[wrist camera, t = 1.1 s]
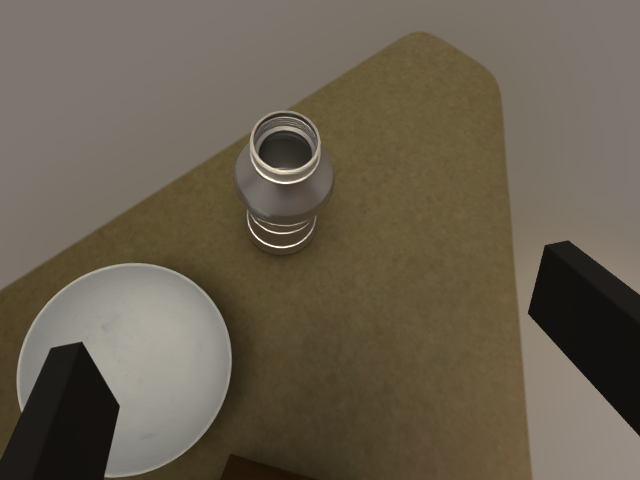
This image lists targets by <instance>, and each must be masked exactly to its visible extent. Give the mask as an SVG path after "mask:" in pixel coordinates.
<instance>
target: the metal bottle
mask: <svg viewBox="0 0 640 480" xmlns="http://www.w3.org/2000/svg"><path fill="white" fill-rule="evenodd" d="M234 185H235V189H236V191H237V194H238V196H239V198H240V200H241V202H242V203H243V205H244V206H245V208H246V209H247V212H246V215H245V227H246V231H247V234H248V236H249V238H250V239H251V241H252V242H253V243H254V244H255V245H256V246H257V247H258V248H260V249H261V250H262V251H265V252H267V253H270V254H274V255H288V254H292V253H295V252H298V251H299V250H301V249H303V248H304V247H305V246H306V245H308V244H309V242H310V241H311V240H312V238H313V236H314V234H315V232H316V228H317V214H318V213H319V212H320V211H321V210H322V209H323V207H324V206H325V205H326V204H327V202H328V201H329V199H330V197H331V195H332V193H333V189H334V185H335V171H334V166H333V163H332V161H331V158H330V156H329V154H328V152H327V151H326V149H325V148H324V146H323V145H322V144H321V142H320V136H319V133H318V131H317V128H316V127H315V125H314V124H313V123H312V122H311V121H310V120H309V119H308V118H307V117H305V116H304V115H302V114H299V113H297V112H293V111H285V110H283V111H276V112H272V113H270V114H268V115H266V116H264V117H263V118H261V119H260V120H259V121H258V122H257V124H256V125H255V127H254V128H253V130H252V134H251V137H250V141H249V143H248V144H247V145H246V146H245V147H244V148H243V150H242V151H241V153H240V155H239V157H238V159H237V161H236V164H235V168H234Z"/></svg>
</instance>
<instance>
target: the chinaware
mask: <svg viewBox="0 0 640 480" xmlns="http://www.w3.org/2000/svg"><path fill="white" fill-rule="evenodd" d="M81 341H82V342H83V344H84V346H85V347H86V349H87V351H88V352H89V354H90V356H91V357H92V359H93V361H94V363H95V364H96V366H97V368H98V369H99V371H100V373H101V374H102V376H103V378H104V380H105V381H106V383H107V385H108V386H109V388H110V390H111V392H112V393H113V395H114V397H115V398H116V400H117V402H118V403H119V405H120V409H119V414H118V418H117V422H116V427H115V431H114V436H113V440H112V445H111V449H110V453H109V458H108V462H107V467H106V471H105V476H104V477H127V476H133V475H138V474H142V473H146V472H149V471H152V470H154V469H157V468H159V467H162V466H164V465H166V464H167V463H169V462H171V461H173V460H174V459H176V458H178V457H179V456H180V455H182V454H183V453H185V452H186V451H187V450H188V449H189V448H191V447H192V446H193V445H194V444H195V443H196V442H197V441H198V440H199V439H200V438H201V437H202V436H203V434H204V433H205V432H206V431H207V429H208V428H209V427H210V425H211V424H212V422H213V421H214V419H215V418H216V416H217V414H218V412H219V410H220V408H221V406H222V404H223V401H224V399H225V396H226V393H227V390H228V386H229V382H230V377H231V369H232V351H231V343H230V338H229V333H228V330H227V327H226V324H225V322H224V319H223V317H222V315H221V313H220V311H219V310H218V308H217V306H216V305H215V303H214V302H213V301H212V299H211V298H210V297H209V296H208V295H207V293H206V292H205V291H204V290H203V289H202V288H200V287H199V286H198V285H197V284H196V283H194V282H193V281H192V280H190V279H189V278H187V277H185V276H184V275H182V274H180V273H178V272H175V271H173V270H170V269H168V268H165V267H161V266H157V265H152V264H143V263H126V264H118V265H112V266H108V267H104V268H101V269H98V270H95V271H93V272H90V273H88V274H86V275H84V276H82V277H80V278H78V279H76V280H75V281H73V282H71V283H70V284H69V285H67V286H66V287H64V288H63V289H62V290H61V291H59V292H58V293H57V294H56V295H55V296H54V297H53V298H52V299H51V300H50V301H49V302H48V303H47V304H46V305H45V306H44V308H43V309H42V310H41V311H40V313H39V314H38V316H37V317H36V319H35V320H34V322H33V323H32V325H31V327H30V329H29V331H28V333H27V335H26V338H25V340H24V343H23V345H22V349H21V352H20V356H19V361H18V367H17V394H18V400H19V405H20V409H21V412H22V411H23V409H24V407H25V405H26V403H27V400H28V398H29V396H30V394H31V391H32V389H33V387H34V385H35V382H36V380H37V378H38V376H39V373H40V371H41V369H42V367H43V364H44V362H45V360H46V358H47V355H48V353H49V351H50V349H51V348H52V347H57V346H62V345H67V344H72V343H77V342H81Z"/></svg>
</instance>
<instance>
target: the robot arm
mask: <svg viewBox="0 0 640 480" xmlns="http://www.w3.org/2000/svg"><path fill="white" fill-rule="evenodd" d="M528 314H529V315H530V316H531V317H532V319H533V320H534V321H535V322H536V323H537V324H538V325H539V326H540V327H541V328H542V330H543V331H544V332H545V333H546V334H547V335H548V336H549V337H550V338H551V339H552V341H553V342H554V343H555V344H556V345H557V346H558V347H559V348H560V349H561V350H562V351H563V353H564V354H565V355H566V356H567V357H568V358H569V359H570V360H571V361H572V363H573V364H574V365H575V366H576V367H577V368H578V369H579V370H580V371H581V372H582V373H583V375H584V376H585V377H586V378H587V379H588V380H589V381H590V382H591V383H592V384H593V386H595V388H596V389H597V390H598V391H599V392H600V393H601V394H602V395H603V397H604V398H605V399H606V400H607V401H608V402H609V403H610V404H611V405H612V406H613V407H614V409H615V410H616V411H617V412H618V413H619V414H620V415H621V416H622V417H623V419H625V421H626V422H627V423H628V424H629V425H630V426H631V427H632V428H633V430H634V431H635V432H636V433H637V434H638V435H639V436H640V295H639V294H638V293H637V292H635V291H634V290H632V289H631V288H630V287H629V286H627V285H626V284H625V283H623V282H622V281H621V280H620V279H618V278H617V277H616V276H614V275H613V274H612V273H610V272H609V271H608V270H606V269H605V268H604V267H602V266H601V265H600V264H598V263H597V262H596V261H594V260H593V259H592V258H591V257H589V256H588V255H587V254H585V253H584V252H583V251H581V250H580V249H579V248H578V247H576V246H575V245H574V244H572V243H571V242H570V241H563V242H559V243H554V244H549V245H545V247H544V251H543V256H542V259H541V263H540V267H539V271H538V275H537V279H536V283H535V287H534V291H533V295H532V299H531V303H530V307H529V311H528ZM119 409H120V405H119V403H118V402H117V400H116V398H115V397H114V395H113V393H112V392H111V390H110V388H109V386H108V385H107V383H106V381H105V380H104V378H103V376H102V374H101V373H100V371H99V369H98V368H97V366H96V364H95V363H94V361H93V359H92V357H91V356H90V354H89V352H88V351H87V349H86V347H85V346H84V344H83V342H82V341H81V342H77V343H72V344H67V345H62V346H57V347H52V348H51V349H50V351H49V353H48V355H47V358H46V360H45V362H44V364H43V367H42V369H41V371H40V373H39V376H38V378H37V380H36V382H35V385H34V387H33V389H32V391H31V394H30V396H29V398H28V400H27V403H26V405H25V407H24V409H23V411H22V414H21V416H20V418H19V420H18V423H17V425H16V427H15V429H14V432H13V434H12V436H11V438H10V441H9V443H8V445H7V447H6V450H5V452H4V454H3V456H2V459H1V461H0V480H104V476H105V471H106V467H107V462H108V458H109V453H110V449H111V445H112V440H113V436H114V431H115V427H116V422H117V418H118V414H119Z"/></svg>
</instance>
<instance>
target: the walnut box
mask: <svg viewBox="0 0 640 480" xmlns="http://www.w3.org/2000/svg"><path fill="white" fill-rule="evenodd" d="M221 480H315V479H312V478H308V477H305V476H301V475H298V474H295V473H291V472H288V471H285V470H281V469H278V468H274V467H271V466H268V465H264V464H261V463H257V462H254V461H251V460H247V459H244V458H241V457H237V456H234V455H229V458H228V461H227V463H226V466H225V469H224V472H223V474H222V477H221Z"/></svg>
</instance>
